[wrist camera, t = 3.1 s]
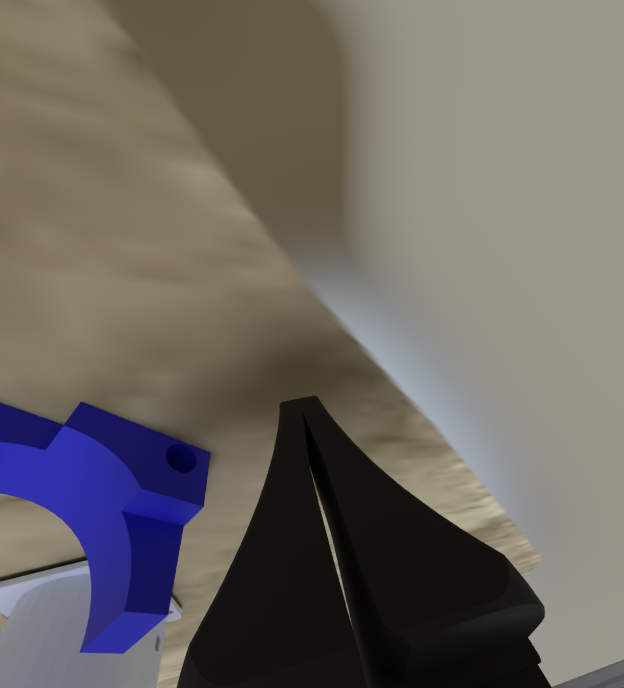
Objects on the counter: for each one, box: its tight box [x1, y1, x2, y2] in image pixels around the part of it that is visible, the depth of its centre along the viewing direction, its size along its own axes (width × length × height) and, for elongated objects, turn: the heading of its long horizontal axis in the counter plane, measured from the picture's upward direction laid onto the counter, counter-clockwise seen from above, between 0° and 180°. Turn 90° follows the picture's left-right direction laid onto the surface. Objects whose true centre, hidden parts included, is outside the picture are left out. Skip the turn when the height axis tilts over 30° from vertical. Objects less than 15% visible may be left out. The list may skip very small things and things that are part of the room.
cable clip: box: [0, 402, 210, 654], centre depth 10 cm, size 12×4×6 cm, turn 47°
